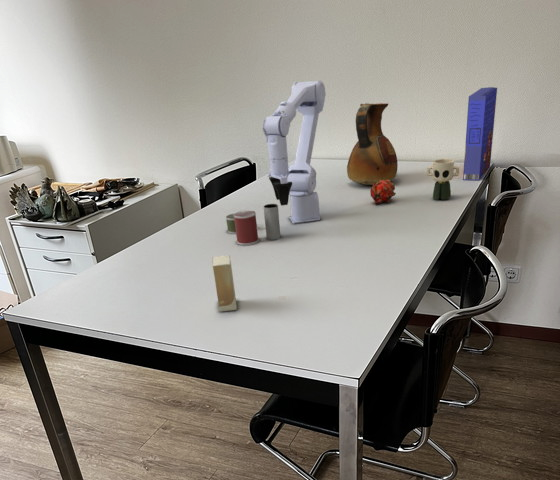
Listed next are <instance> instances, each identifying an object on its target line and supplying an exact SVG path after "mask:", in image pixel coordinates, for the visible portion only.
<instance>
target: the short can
mask: <svg viewBox="0 0 560 480" xmlns="http://www.w3.org/2000/svg"><path fill="white" fill-rule="evenodd" d="M234 213H235V212H234ZM234 213H230V214H227V215H226V216H225V219H226V226H227V232H228V234H231V235H233V234H235V235H236V228H235V220H234Z"/></svg>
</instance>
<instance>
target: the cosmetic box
mask: <svg viewBox="0 0 560 480" xmlns="http://www.w3.org/2000/svg"><path fill="white" fill-rule="evenodd" d="M211 262H212V270H213V278H214V284H215V289H216V297H217V304H218V309H219V312H221V313H222V312H229V311H230V312H231V311H236V310H238V309H237V308H238V306H237V297H236V289H235V281H234V276H233V275H234V273H233V268H232V260H231V255H230V254H226V255H220V256H219V255H218V256H213V257H212V261H211Z"/></svg>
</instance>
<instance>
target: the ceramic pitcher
mask: <svg viewBox="0 0 560 480" xmlns="http://www.w3.org/2000/svg"><path fill="white" fill-rule="evenodd" d="M359 106H360V107H359V108H358V109H357V112H356V113H355V131H356V136H357V141H356V143H355V145H354V146H353V148H352V150H351V152H350V154H349V158H348V161H347V165H346V175H347V178H348V179H349V180H350V181H352V182H356V183H358V184H363V185H370V186H373V185H374V183H375V182H380V179H383V180H384V181H386V180H390V181H391V180H394V179H395V178H396V176H397V174H398V167H399V166H398V165H399V164H398V156H397V152H396V149H395V147H394V146H393V144H392V142H391V141H390V140H389V138H388V137H387V136H386V135H384V132H383V130H382V120H383V113H384V111H385V110H386V108H387V107H388V106H389V102H387V103H384V102H383V103H382V102H380V103H379V102H378V103H369V102H366V103H360V104H359Z"/></svg>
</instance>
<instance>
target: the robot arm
mask: <svg viewBox="0 0 560 480" xmlns="http://www.w3.org/2000/svg"><path fill="white" fill-rule="evenodd" d="M326 93H327V92H326V87H325V84H324V82H323V81H322V80H315V81H294V82H293V84H292V85H291V94H290V96H289V97H288V99H287V101H281V102H280V103H279V106H278V107H277V108H276V110H274V112H273V113H272V115H268V116H266V118H264V120H263V122H262V132H263V135H264V137H265V138H264V139H265V142H266V143H267V150H268V159H269V171H270V172H269V173H266V177H268V179H269V181H270V183H271V185H272V188H273V193H274V195H275V199H276V201H279V204H280V206H282V207H283V206H288V204H289V199H290V211H291V215H289V217H288V218H289V219H290V221H291V223H292V224H294V225H295V224H301V223H309V222H314V221H315V222H316V221H320V220H321V216H320V199H319V195H318V192H317V191H315V190H316V188H317V171H316V169H315V168H314V167H313V166H312V165H311V162H312V156H313V149H314V143H315V138H316V134H317V133H316V132H317V126H318V121H319V115H320V113H322V112H323V109H324V107H325V102H326V101H325V100H326V96H327V95H326ZM297 112H298V113H300V114H302V121H301V125H300V126H301V127H300V131H299V138H298V144H297V148H296V154H295V155H296V156H295V161H294V162H293V163H292V164H291V165H290V166H289V157H288V144H287V143H288V142H287V136H288V135H289V131H290V127H291V122H293V120H294V119H295V118H296V116H297Z"/></svg>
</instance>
